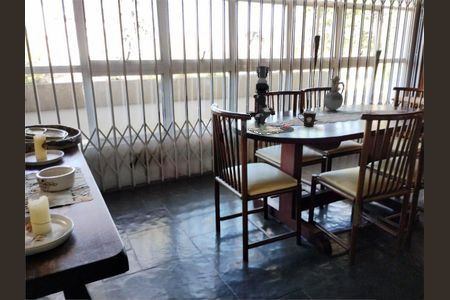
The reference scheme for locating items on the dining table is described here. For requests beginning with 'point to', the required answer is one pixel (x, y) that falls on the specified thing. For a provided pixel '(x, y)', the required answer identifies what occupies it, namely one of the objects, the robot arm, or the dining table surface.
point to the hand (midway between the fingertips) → (260, 126)
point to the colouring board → (267, 130)
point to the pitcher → (334, 96)
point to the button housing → (287, 129)
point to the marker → (260, 126)
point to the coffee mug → (308, 118)
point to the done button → (286, 126)
